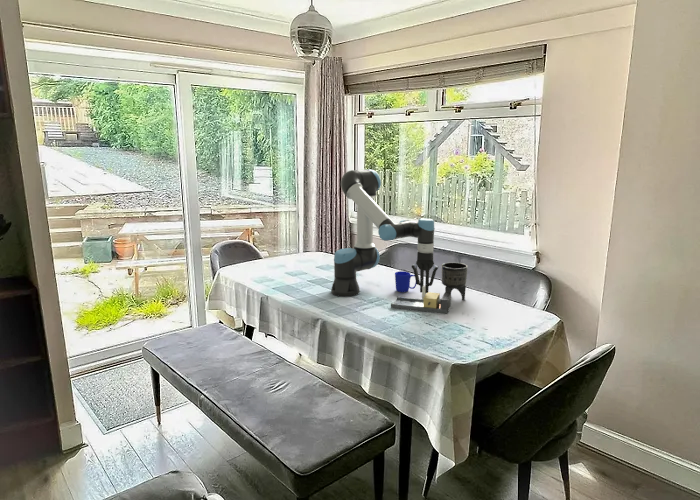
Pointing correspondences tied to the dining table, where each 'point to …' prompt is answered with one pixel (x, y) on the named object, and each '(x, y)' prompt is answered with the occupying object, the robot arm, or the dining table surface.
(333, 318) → the dining table surface
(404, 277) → the mug
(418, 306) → the tray
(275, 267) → the dining table surface
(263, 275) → the dining table surface
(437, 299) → the block
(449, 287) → the planter
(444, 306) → the dark grey block
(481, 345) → the dining table surface
